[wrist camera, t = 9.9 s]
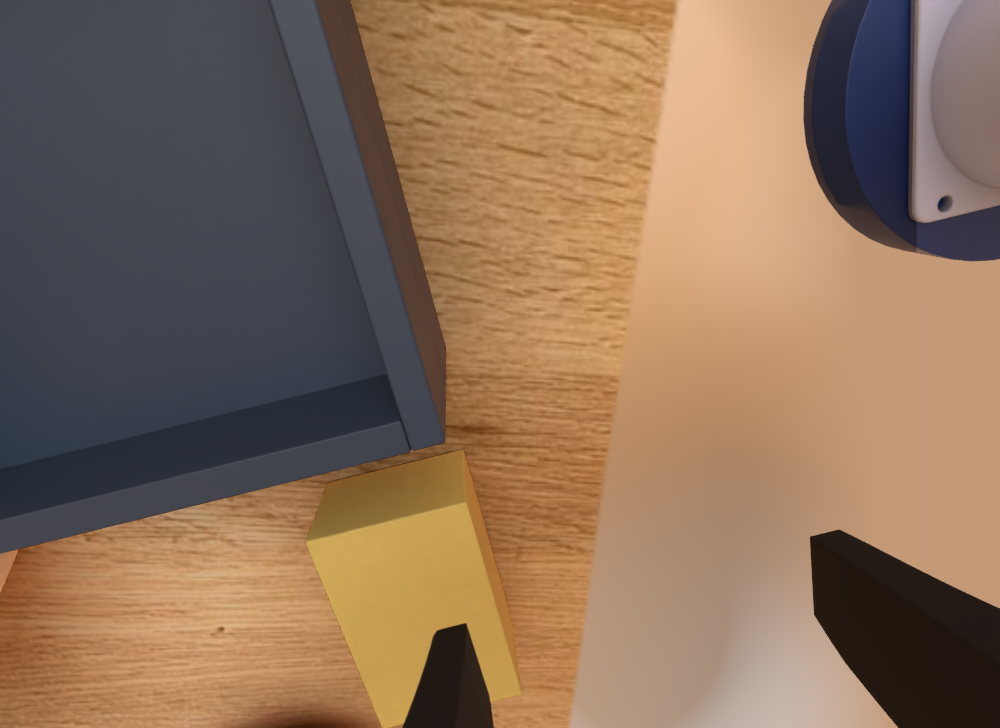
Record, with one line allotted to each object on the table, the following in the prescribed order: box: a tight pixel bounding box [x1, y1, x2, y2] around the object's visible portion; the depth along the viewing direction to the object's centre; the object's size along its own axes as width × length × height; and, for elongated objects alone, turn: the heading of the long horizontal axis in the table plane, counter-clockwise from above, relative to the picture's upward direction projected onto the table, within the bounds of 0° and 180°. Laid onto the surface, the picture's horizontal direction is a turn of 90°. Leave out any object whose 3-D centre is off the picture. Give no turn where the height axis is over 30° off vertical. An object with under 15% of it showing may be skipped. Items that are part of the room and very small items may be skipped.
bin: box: [0, 0, 446, 554], centre depth 14 cm, size 14×15×7 cm
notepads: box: [306, 450, 522, 728], centre depth 20 cm, size 5×8×4 cm, turn 13°
